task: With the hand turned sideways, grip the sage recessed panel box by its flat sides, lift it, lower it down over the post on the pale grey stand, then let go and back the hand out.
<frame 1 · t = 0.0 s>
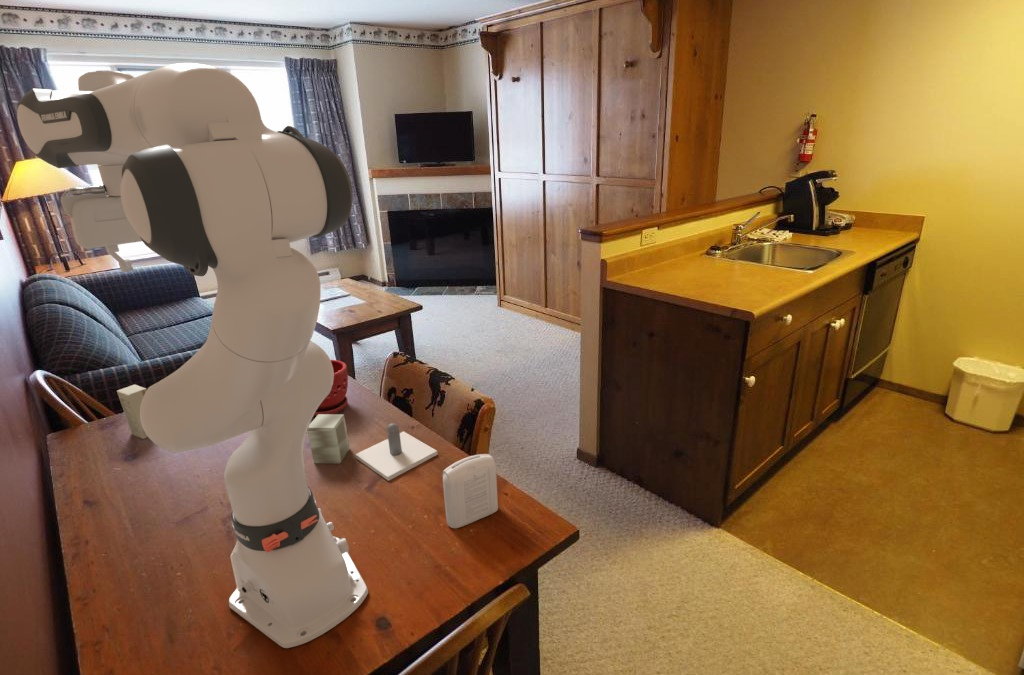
hand: (159, 265, 93), 48 cm above the table, tool pointing down, fingers open, 8 cm apart
skincare box: (146, 433, 136), on the table
plant pot: (327, 409, 145), on the table
sage recessed panel box: (332, 455, 123), on the table
photo printer: (472, 516, 101), on the table
post stand: (396, 456, 121), on the table
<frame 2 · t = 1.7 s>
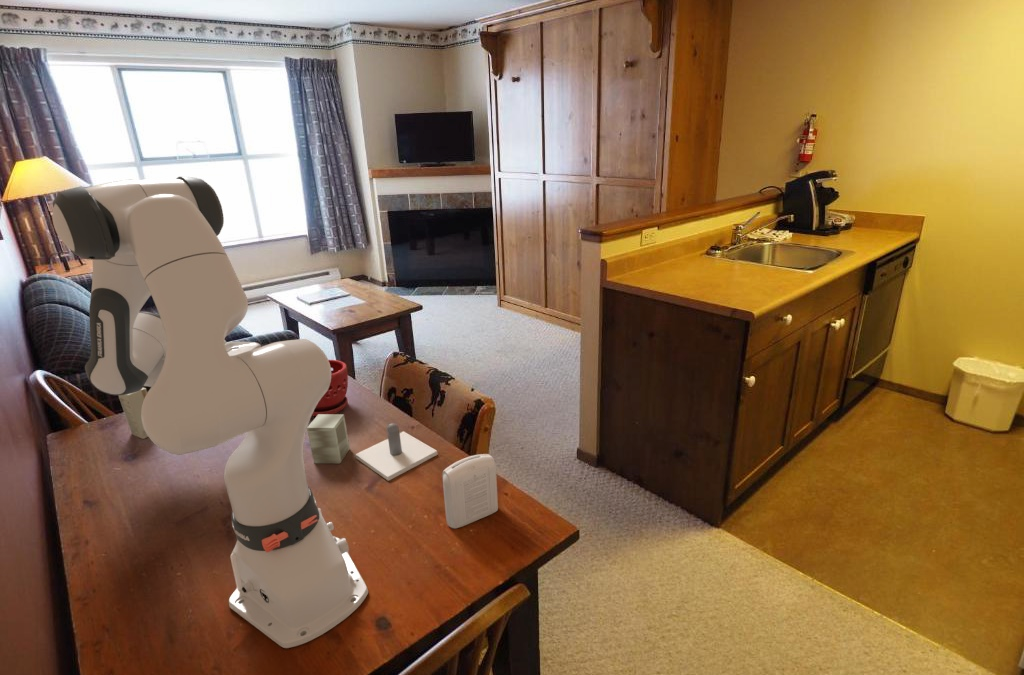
hand: (260, 367, 116), 22 cm above the table, tool horizontal, fingers open, 8 cm apart
nothing on the table moved.
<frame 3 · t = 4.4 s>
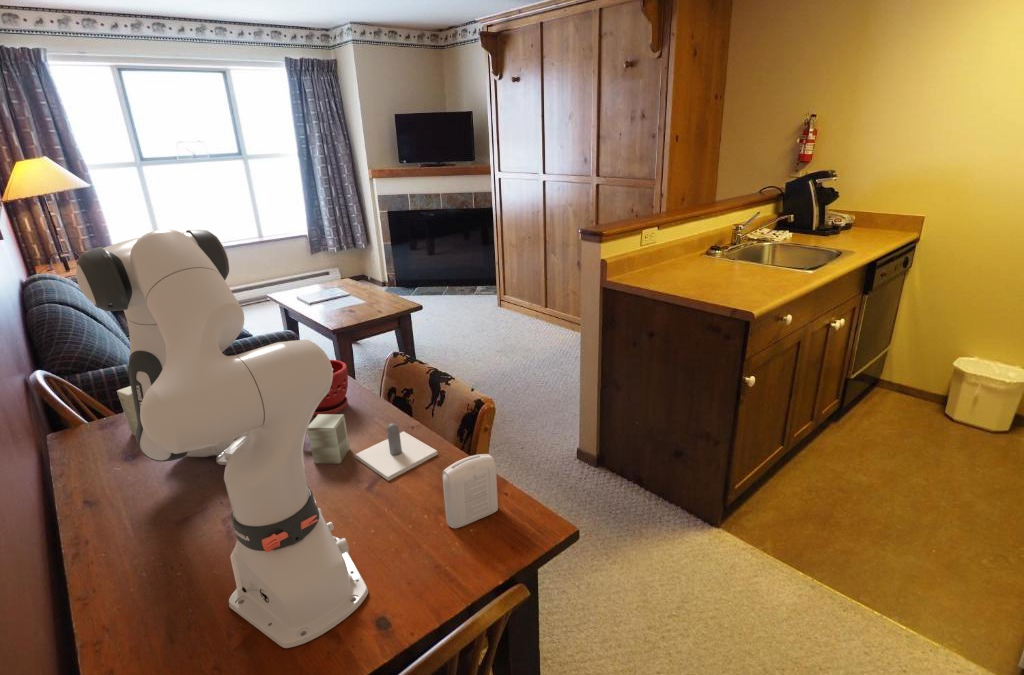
hand: (297, 437, 122), 5 cm above the table, tool horizontal, fingers open, 8 cm apart
nothing on the table moved.
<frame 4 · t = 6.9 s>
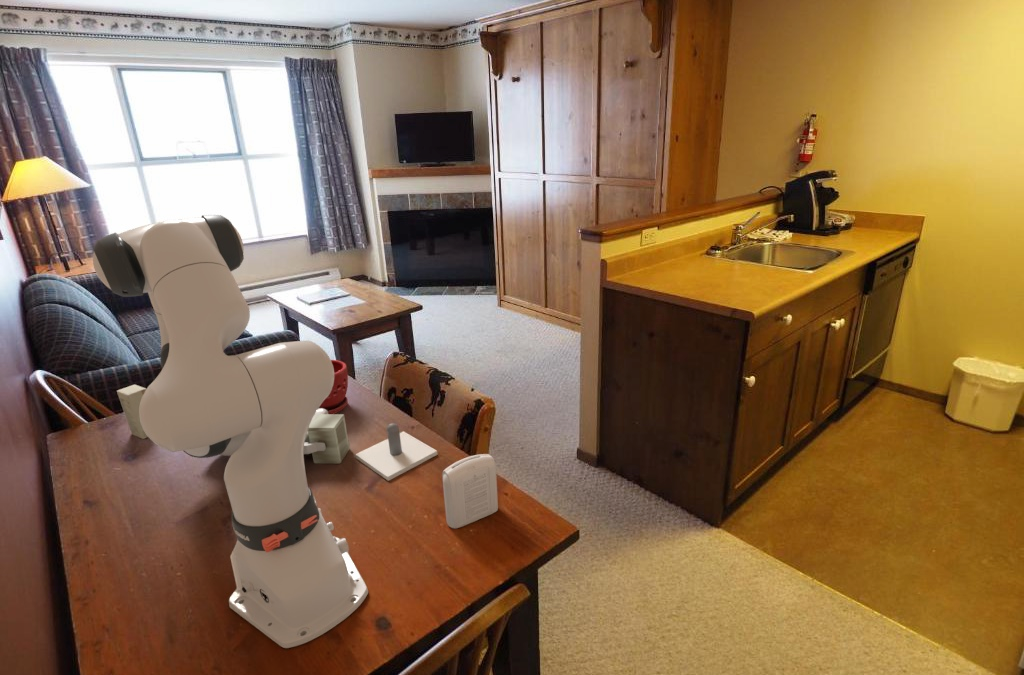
hand: (332, 436, 121), 5 cm above the table, tool horizontal, fingers closed on sage recessed panel box, 6 cm apart
sage recessed panel box: (332, 455, 123), on the table, touching gripper
everything else where it was.
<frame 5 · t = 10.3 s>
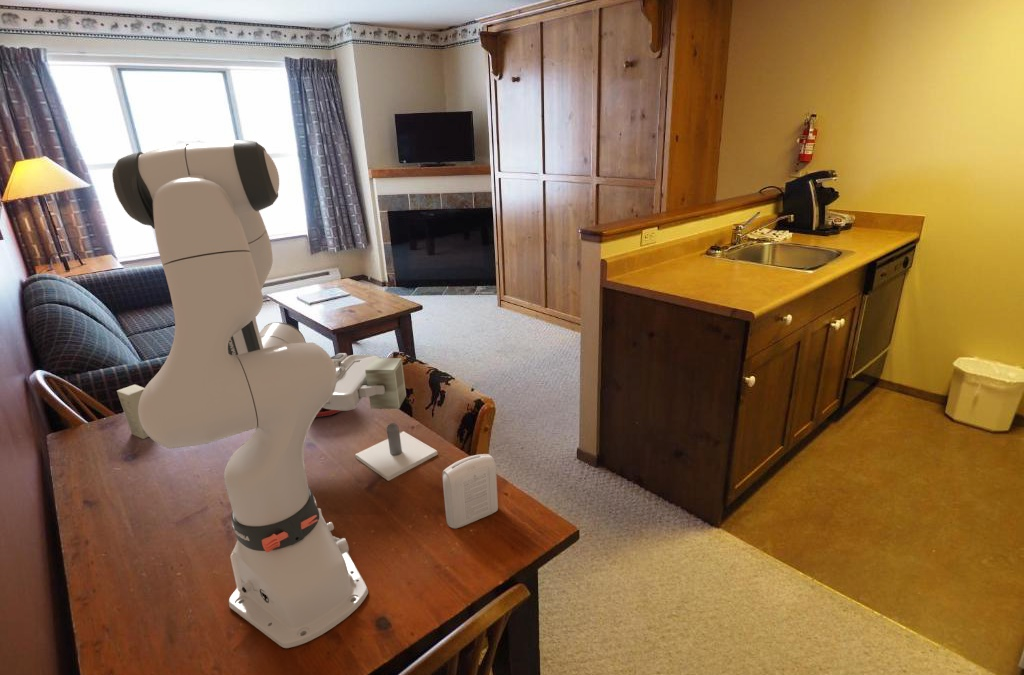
hand: (390, 381, 115), 19 cm above the table, tool horizontal, fingers closed on sage recessed panel box, 6 cm apart
sage recessed panel box: (389, 402, 117), point 14 cm above the table, touching gripper
everything else where it was.
when the fingers open (7 cm above the table, at t = 13.7 s): sage recessed panel box drops 1 cm, resting on post stand.
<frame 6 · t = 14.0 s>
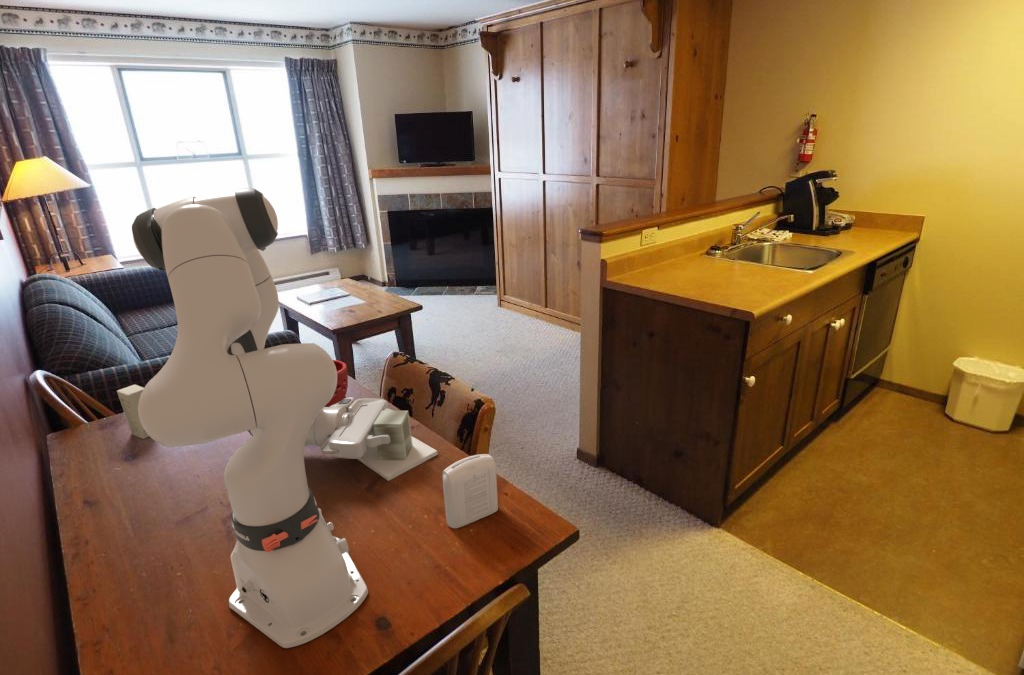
hand: (396, 427, 119), 7 cm above the table, tool horizontal, fingers open, 8 cm apart
sage recessed panel box: (396, 452, 121), point 1 cm above the table, touching post stand
everything else where it was.
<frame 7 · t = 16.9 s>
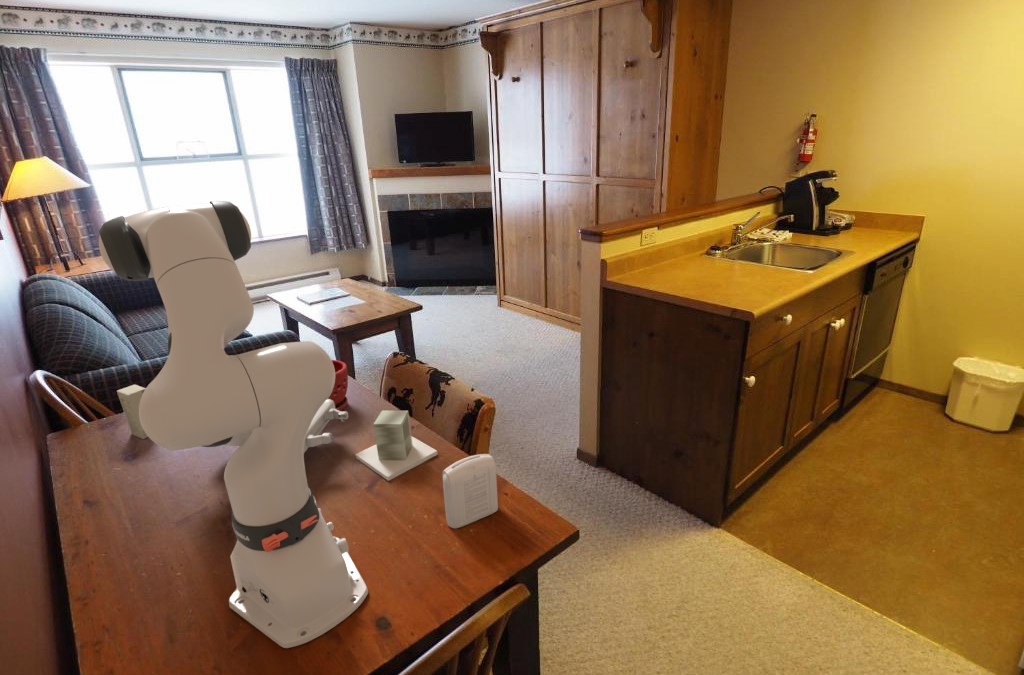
hand: (339, 426, 120), 8 cm above the table, tool horizontal, fingers open, 8 cm apart
nothing on the table moved.
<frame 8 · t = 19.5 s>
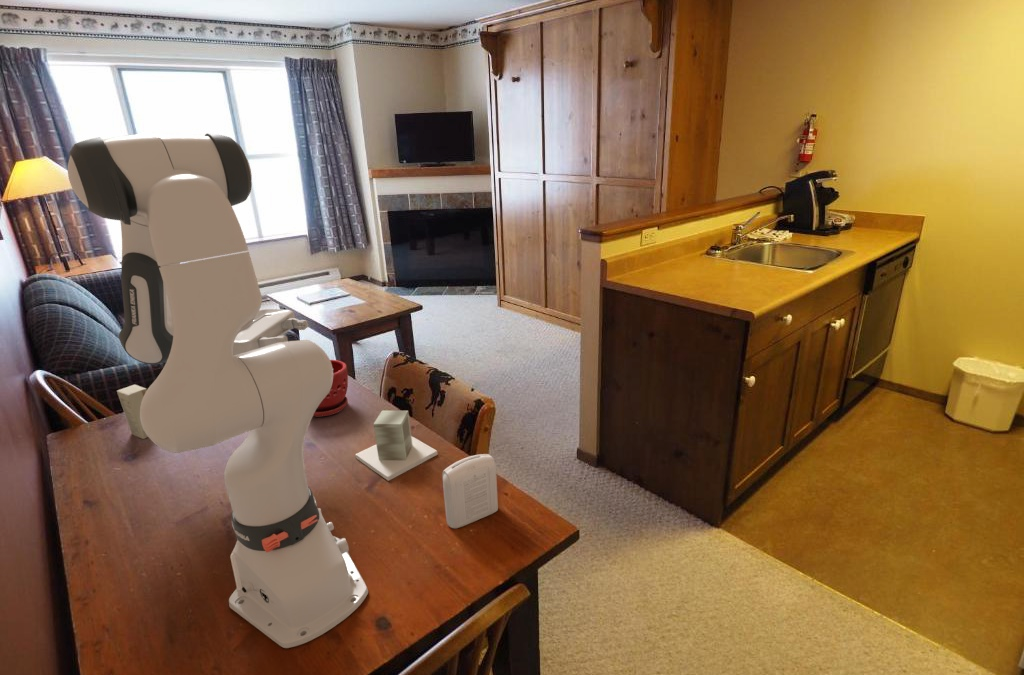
hand: (296, 332, 112), 30 cm above the table, tool horizontal, fingers open, 8 cm apart
nothing on the table moved.
at the end: sage recessed panel box 0.0 cm off-centre on the post stand, point 1.0 cm above the post stand's base; sage recessed panel box tilted 0°; the gripper is holding nothing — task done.
